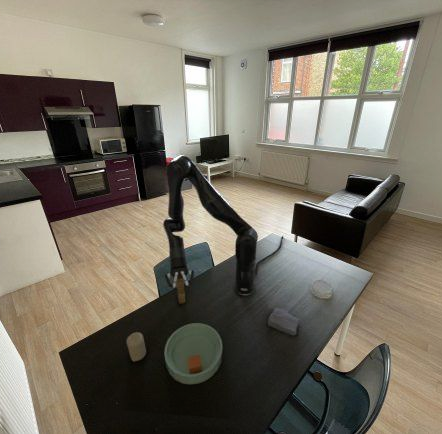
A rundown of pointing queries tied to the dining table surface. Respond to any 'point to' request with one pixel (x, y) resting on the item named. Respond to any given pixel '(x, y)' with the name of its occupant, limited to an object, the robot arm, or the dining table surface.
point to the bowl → (193, 352)
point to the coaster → (321, 289)
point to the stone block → (284, 321)
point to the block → (195, 364)
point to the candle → (136, 346)
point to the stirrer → (181, 290)
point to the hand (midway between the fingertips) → (181, 295)
